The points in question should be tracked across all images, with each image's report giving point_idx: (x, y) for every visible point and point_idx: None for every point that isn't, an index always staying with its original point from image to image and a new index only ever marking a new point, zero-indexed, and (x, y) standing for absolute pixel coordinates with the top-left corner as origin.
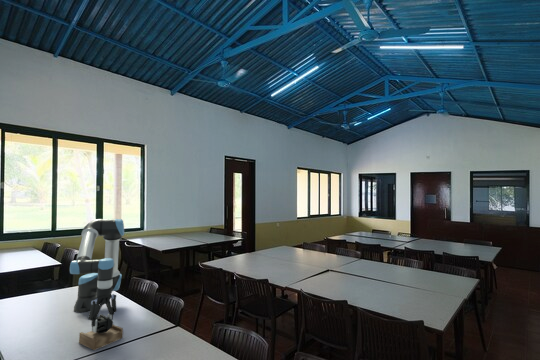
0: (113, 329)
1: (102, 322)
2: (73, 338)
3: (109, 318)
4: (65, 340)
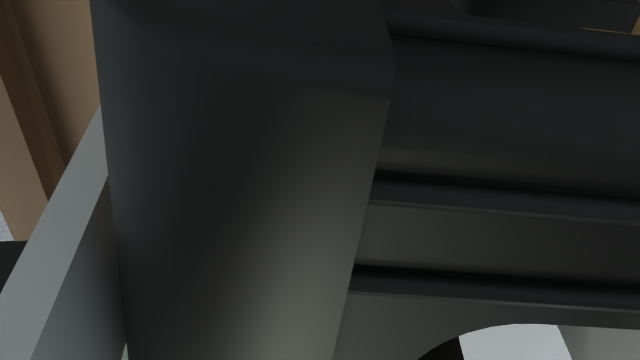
0: (53, 58)
1: (619, 92)
2: (473, 338)
3: (183, 185)
4: (545, 351)
